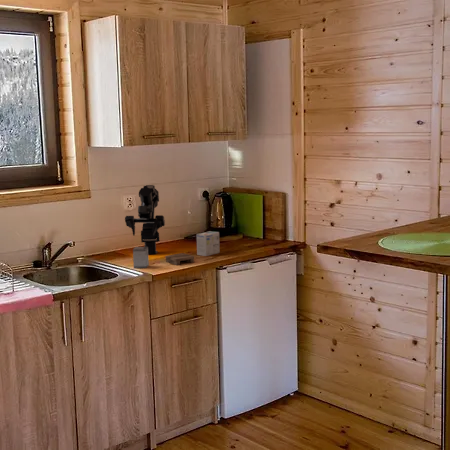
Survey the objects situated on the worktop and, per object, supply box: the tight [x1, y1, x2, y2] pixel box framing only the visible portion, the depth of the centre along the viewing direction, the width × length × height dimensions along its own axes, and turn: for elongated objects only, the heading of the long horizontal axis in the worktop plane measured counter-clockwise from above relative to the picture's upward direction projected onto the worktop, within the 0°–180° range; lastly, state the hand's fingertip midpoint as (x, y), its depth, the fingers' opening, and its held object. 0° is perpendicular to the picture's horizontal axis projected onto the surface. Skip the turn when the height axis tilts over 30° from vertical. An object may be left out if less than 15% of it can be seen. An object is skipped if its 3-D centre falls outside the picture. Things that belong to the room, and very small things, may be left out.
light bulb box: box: [196, 230, 221, 257], centre depth 350 cm, size 11×7×11 cm, turn 141°
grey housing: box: [132, 246, 150, 269], centre depth 324 cm, size 6×6×9 cm
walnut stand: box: [164, 252, 195, 266], centre depth 332 cm, size 10×10×3 cm
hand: (143, 235), depth 330 cm, fingers open, 9 cm apart
